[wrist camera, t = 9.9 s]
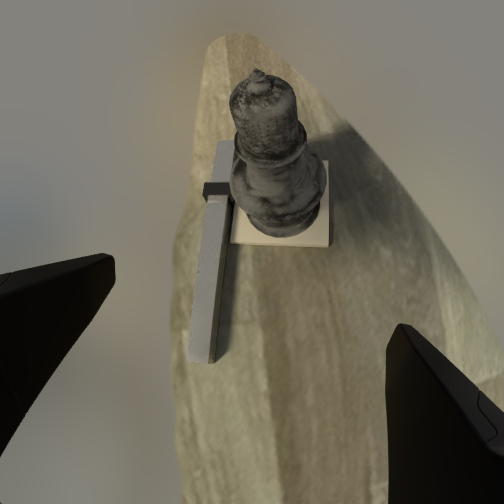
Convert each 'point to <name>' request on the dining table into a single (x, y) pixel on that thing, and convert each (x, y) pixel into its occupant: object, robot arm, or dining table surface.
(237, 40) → the dining table surface
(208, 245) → the white rectangular bar
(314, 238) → the groove pad
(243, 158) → the dark grey tiered figure
